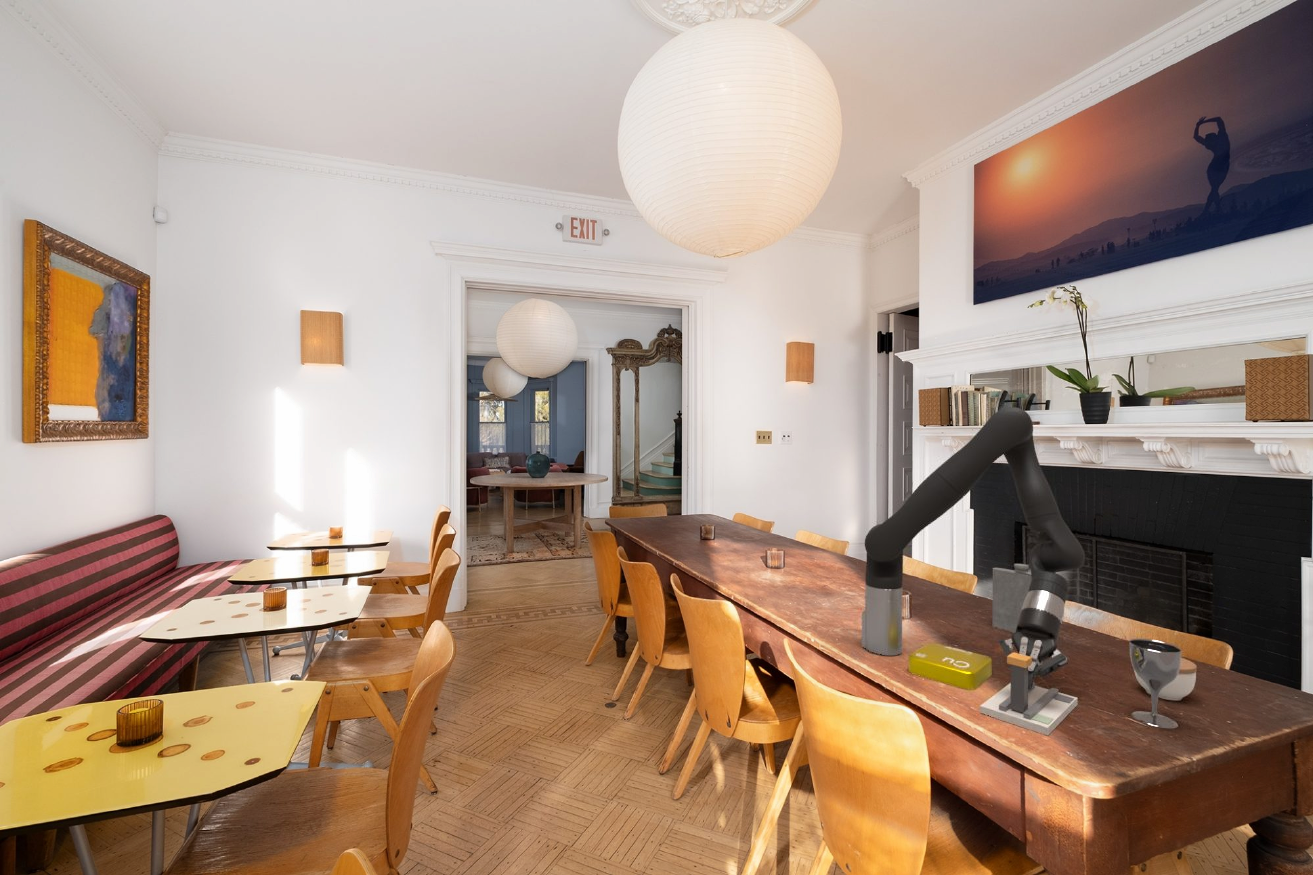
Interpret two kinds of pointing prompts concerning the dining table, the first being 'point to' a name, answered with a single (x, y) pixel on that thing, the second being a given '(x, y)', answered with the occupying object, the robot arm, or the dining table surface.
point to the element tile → (951, 666)
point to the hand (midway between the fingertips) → (1022, 689)
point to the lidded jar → (1176, 682)
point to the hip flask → (1009, 595)
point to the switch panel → (1031, 708)
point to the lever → (1019, 680)
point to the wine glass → (1155, 674)
